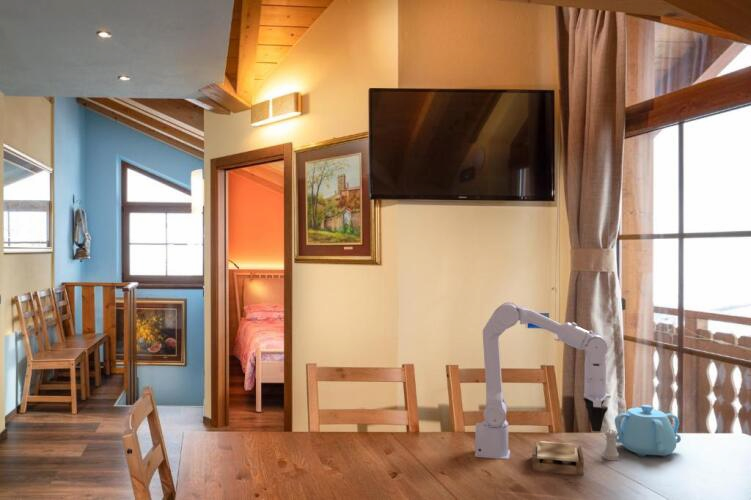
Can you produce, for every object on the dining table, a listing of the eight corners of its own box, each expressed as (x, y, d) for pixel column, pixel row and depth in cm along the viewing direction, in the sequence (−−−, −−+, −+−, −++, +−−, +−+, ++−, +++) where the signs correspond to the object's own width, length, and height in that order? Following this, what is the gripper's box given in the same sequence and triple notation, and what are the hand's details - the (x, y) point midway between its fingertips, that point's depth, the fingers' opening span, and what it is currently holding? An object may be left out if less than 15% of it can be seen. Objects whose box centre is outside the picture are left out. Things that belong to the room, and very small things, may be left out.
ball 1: (542, 468, 167) (542, 457, 167) (542, 464, 170) (542, 453, 170) (553, 469, 167) (553, 458, 167) (553, 465, 170) (553, 454, 170)
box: (532, 471, 166) (532, 454, 166) (532, 458, 176) (532, 442, 176) (583, 476, 162) (583, 458, 162) (580, 462, 173) (580, 445, 173)
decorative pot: (688, 453, 181) (688, 407, 181) (659, 464, 172) (659, 415, 172) (636, 440, 194) (636, 396, 194) (606, 449, 185) (606, 403, 185)
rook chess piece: (620, 462, 174) (620, 433, 174) (604, 461, 174) (604, 432, 174) (617, 457, 178) (617, 429, 178) (601, 456, 179) (601, 428, 179)
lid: (537, 458, 166) (537, 446, 166) (537, 447, 175) (537, 436, 175) (578, 461, 163) (578, 450, 163) (576, 450, 172) (576, 439, 172)
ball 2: (561, 466, 169) (561, 455, 169) (560, 463, 172) (560, 452, 172) (572, 467, 168) (572, 456, 168) (572, 464, 171) (572, 453, 171)
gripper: (613, 384, 165) (613, 435, 165) (607, 374, 179) (607, 421, 179) (585, 382, 167) (585, 433, 167) (582, 372, 181) (581, 419, 181)
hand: (595, 427), depth 173 cm, fingers open, 7 cm apart
